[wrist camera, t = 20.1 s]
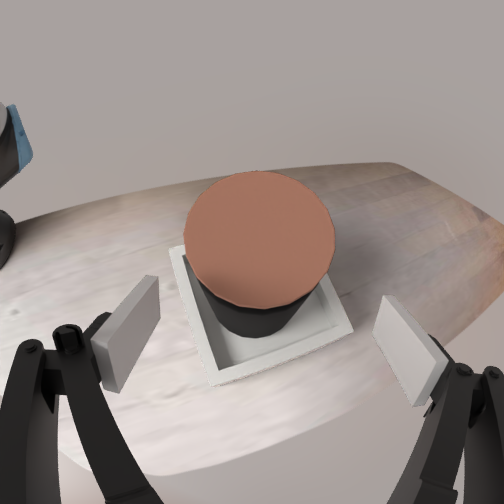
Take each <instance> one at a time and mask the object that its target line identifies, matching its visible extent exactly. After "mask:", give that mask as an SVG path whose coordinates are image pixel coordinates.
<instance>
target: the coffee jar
mask: <svg viewBox="0 0 504 504" xmlns="http://www.w3.org/2000/svg"><path fill="white" fill-rule="evenodd" d="M183 235H184V244H185V253H186V257H187V259H188V261H189V263H190V265H191V267H192V270H193V272H194V274H195V276H196V278H197V280H198V282H199V284H200V287H201V289H202V291H203V293H204V295H205V296H206V298H207V300H208V302H209V304H210V306H211V308H212V310H213V312H214V314H215V316H216V318H217V319H218V321H219V322H220V323H221V324H222V325H223V326H224V327H225V328H226V329H227V330H228V331H230V332H232V333H234V334H236V335H238V336H240V337H245V338H254V339H257V338H262V337H267V336H270V335H272V334H274V333H276V332H277V331H279V330H281V329H282V328H283V327H284V326H285V325H286V324H287V323H288V322H289V320H290V319H291V318H292V317H293V316H294V314H295V313H296V312H297V311H298V309H299V308H300V307H301V306H302V304H303V303H304V302H305V301H306V299H307V298H308V297H309V296H310V294H311V293H312V292H313V290H314V289H315V288H316V287H317V285H318V284H319V282H320V280H321V279H322V278H323V277H324V275H325V274H326V273H327V272H328V269H329V266H330V264H331V261H332V258H333V255H334V252H335V229H334V226H333V223H332V221H331V218H330V215H329V212H328V210H327V208H326V207H325V206H324V204H323V203H322V202H321V200H320V199H319V198H318V197H317V195H316V194H315V193H314V192H313V191H311V190H310V189H309V188H307V187H306V186H304V185H303V184H302V183H300V182H299V181H297V180H295V179H292V178H290V177H287V176H284V175H282V174H279V173H273V172H264V171H251V172H244V173H237V174H234V175H231V176H229V177H227V178H224V179H222V180H220V181H217V182H215V183H214V184H213V185H212V186H211V187H209V188H208V189H207V190H206V191H205V192H203V193H202V194H201V195H200V196H199V197H198V199H197V201H196V202H195V204H194V205H193V207H192V208H191V210H190V211H189V213H188V217H187V221H186V225H185V229H184V233H183Z"/></svg>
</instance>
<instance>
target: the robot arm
mask: <svg viewBox="0 0 504 504" xmlns="http://www.w3.org/2000/svg"><path fill="white" fill-rule="evenodd" d="M32 157H33V151H32V148H31V146H30V143H29V141H28V138H27V136H26V134H25V131H24V128H23V125H22V123H21V120H20V117H19V114H18V111H17V109H16V106H15V105H13V104H12V105H10V106H7V107H6V108H5V106H4V105H3V104H2V103H1V102H0V188H1V187H2V186H4V185H5V184H6V183H7V182H8V181H9V180H10V179H12V178H13V177H14V176H15V175H16V174H18V173H20V171H21V170H22V169H23V168H24V167H25V166H26V165H27V164H28V163H29V162H30V161H31V159H32ZM14 239H15V223H14V221H13V219H12V218H11V217H10V216H9V215H8V214H7V213H6V212H5V211H3V210H0V268H1V267H2V266H3V264H4V263H5V261H6V260H7V258H8V256H9V254H10V252H11V249H12V246H13V243H14ZM159 320H160V302H159V282H158V277H157V276H149V275H146V276H145V277H144V278H143V279H142V280H141V281H140V282H139V283H138V285H137V286H136V287H135V288H134V289H133V290H132V291H131V292H130V294H129V295H128V296H127V297H126V298H125V299H124V300H123V302H122V303H121V304H120V305H119V306H118V307H117V308H116V310H115V311H114V312H113V313H109V312H105V313H103V314H101V315H99V316H98V317H97V318H96V319H95V320H94V321H93V323H92V324H91V325H90V326H89V328H87V329H86V330H85V331H84V333H82V330H81V328H80V327H79V326H77V325H73V324H66V325H62V326H59V327H58V328H56V329H55V330H54V331H53V335H52V336H53V340H54V343H55V346H56V349H57V350H45V349H44V347H43V344H42V342H41V341H39V340H36V339H30V340H26V341H24V342H22V343H21V344H20V345H19V347H18V349H17V351H16V354H15V357H14V360H13V364H12V367H11V370H10V373H9V377H8V380H7V384H6V388H5V391H4V395H3V399H2V404H1V408H0V504H61V497H60V487H59V474H58V408H59V395H67V398H68V402H69V406H70V409H71V413H72V416H73V419H74V423H75V426H76V429H77V432H78V435H79V438H80V441H81V443H82V446H83V449H84V452H85V454H86V457H87V459H88V462H89V464H90V467H91V469H92V471H93V474H94V476H95V478H96V481H97V483H98V485H99V487H100V489H101V491H102V493H103V495H104V498H105V503H106V504H164V503H163V502H162V500H161V499H160V497H159V496H158V495H157V493H156V491H155V490H154V489H153V488H152V487H151V485H150V484H149V482H148V481H147V479H146V478H145V476H144V474H143V473H142V471H141V469H140V468H139V466H138V464H137V462H136V461H135V459H134V457H133V455H132V454H131V452H130V450H129V448H128V446H127V444H126V442H125V440H124V438H123V436H122V434H121V432H120V430H119V428H118V426H117V424H116V422H115V420H114V418H113V416H112V413H111V411H110V409H109V407H108V404H107V402H106V400H105V397H104V395H103V393H102V390H101V388H100V385H99V383H100V382H101V381H102V384H103V388H104V390H108V391H111V392H115V393H120V391H121V389H122V388H123V386H124V384H125V382H126V380H127V378H128V376H129V374H130V373H131V371H132V369H133V367H134V365H135V363H136V361H137V360H138V358H139V356H140V354H141V352H142V350H143V349H144V347H145V345H146V343H147V341H148V340H149V338H150V336H151V334H152V332H153V331H154V329H155V327H156V325H157V324H158V322H159ZM372 335H373V337H374V339H375V341H376V342H377V344H378V346H379V347H380V349H381V351H382V353H383V354H384V356H385V358H386V360H387V361H388V363H389V365H390V367H391V369H392V370H393V372H394V374H395V376H396V378H397V380H398V381H399V383H400V385H401V387H402V389H403V390H404V392H405V394H406V396H407V398H408V400H409V402H410V404H411V405H412V407H416V406H421V405H425V403H426V401H427V400H428V398H429V396H431V398H432V400H433V402H432V403H431V405H430V407H429V408H428V410H427V411H426V413H425V415H424V416H423V417H426V419H425V421H424V424H423V427H422V430H421V432H420V435H419V437H418V440H417V443H416V445H415V447H414V450H413V452H412V454H411V456H410V459H409V461H408V463H407V465H406V468H405V470H404V472H403V474H402V476H401V478H400V480H399V482H398V484H397V486H396V488H395V490H394V491H393V493H392V495H391V497H390V499H389V500H388V502H387V504H455V503H456V500H457V496H458V492H457V490H453V485H454V482H455V479H456V475H457V472H458V468H459V465H460V461H461V457H462V452H463V448H464V457H465V480H464V501H463V504H504V374H503V373H502V371H501V370H500V369H499V368H497V367H493V366H488V367H486V368H485V370H484V372H483V374H475V373H474V372H473V370H472V369H471V368H470V367H469V366H468V365H466V364H462V363H455V362H454V360H453V359H452V358H451V357H450V355H449V354H448V353H447V352H446V350H444V348H443V347H442V346H441V344H440V343H439V342H438V341H437V340H436V339H435V338H434V337H432V336H431V335H429V334H427V333H426V332H425V331H424V329H423V328H422V327H421V326H420V325H419V324H418V322H417V321H416V320H415V319H414V318H413V317H412V315H411V314H410V313H409V312H408V311H407V310H406V309H405V307H404V306H403V305H402V304H401V303H400V302H399V301H398V300H397V298H396V297H395V296H394V295H383V298H382V301H381V305H380V308H379V311H378V315H377V318H376V321H375V325H374V328H373V331H372ZM426 415H427V416H426Z"/></svg>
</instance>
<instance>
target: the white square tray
mask: <svg viewBox="0 0 504 504" xmlns="http://www.w3.org/2000/svg"><path fill="white" fill-rule="evenodd" d="M168 250H169V254H170V258H171V261H172V265H173V269H174V273H175V277H176V280H177V284H178V287H179V291H180V295H181V298H182V302H183V305H184V308H185V312H186V315H187V318H188V322H189V325H190V328H191V331H192V335H193V338H194V341H195V344H196V347H197V350H198V353H199V356H200V359H201V362H202V365H203V368H204V371H205V374H206V376H207V379H208V382H209V385H210V387H217V386H221V385H224V384H227V383H230V382H233V381H236V380H239V379H242V378H245V377H248V376H251V375H254V374H256V373H259V372H262V371H265V370H267V369H270V368H273V367H275V366H278V365H281V364H283V363H286V362H288V361H291V360H293V359H296V358H298V357H301V356H303V355H305V354H308V353H310V352H313V351H315V350H317V349H320V348H322V347H324V346H326V345H329V344H331V343H333V342H335V341H337V340H339V339H341V338H343V337H345V336H347V335H348V334H350V333H352V332H354V330H353V328H352V325H351V323H350V321H349V319H348V317H347V314H346V312H345V310H344V308H343V306H342V304H341V301H340V299H339V297H338V295H337V293H336V291H335V289H334V287H333V285H332V283H331V280H330V278H329V276H328V274H327V273H326V274H325V275H324V277H323V278H322V279H321V280H320V282H319V284H318V285H317V287H316V288H315V289H314V290H313V292H312V293H311V294H310V296H309V297H308V298H307V299H306V301H305V302H304V303H303V304H302V306H301V307H300V308H299V309H298V311H297V312H296V313H295V314H294V316H293V317H292V318H291V319H290V320H289V322H288V323H287V324H286V325H285V326H284V327H283V328H282V329H281V330H279V331H277V332H276V333H274V334H272V335H270V336H267V337H262V338H257V339H254V338H245V337H240V336H238V335H236V334H234V333H232V332H230V331H228V330H227V329H226V328H225V327H224V326H223V325H222V324H221V323H220V322H219V321H218V319H217V318H216V316H215V314H214V312H213V310H212V308H211V306H210V304H209V302H208V300H207V298H206V296H205V295H204V293H203V291H202V289H201V287H200V284H199V282H198V280H197V278H196V276H195V274H194V272H193V270H192V267H191V265H190V263H189V261H188V259H187V257H186V253H185V244H182V245H179V246H176V247H173V248H169V249H168Z"/></svg>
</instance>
